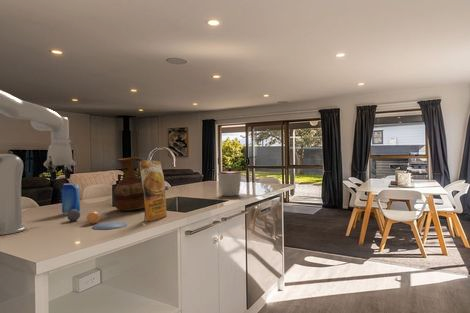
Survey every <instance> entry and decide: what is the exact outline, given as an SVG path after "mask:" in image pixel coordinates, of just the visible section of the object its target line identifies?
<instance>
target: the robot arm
mask: <svg viewBox="0 0 470 313" xmlns="http://www.w3.org/2000/svg"><path fill="white" fill-rule="evenodd" d="M0 114H1V115H4V116H6V117H8V118H13V119H17V120H25V121H30V125H31V127H32V128H33V129H34V130H36V131H41V132H47V131H48V132H49V131H50V144H49V146H48V149H47V150H48V151H47V155H46V156H47V157H46V160H45V161H44V163H43V166H44V167H45V168H46V169H48V171H49V172H50V180H51V181H56V180H57V171H56V169H57V167H58V166H64V169H65V171H64V179H66V180H68V179H71V172H72V169H73V168H74V167H75V165H76V164H77V162H76V161H75V160H74V159H73V153H72V147H71V143H72V141H71V139H70V134H69V133H70V130H69V129H70V122H69V119H68V117H66V116H61V115H60V114H58V113H57V112H56V111H53V110H52V109H50V108H48V107H45V106H43V105H40V104H37V103H33V102H29V101H26V100H22V99H20V98H18V97H16V96H14V95H13V94H10V93H8V92H6V91H4V90H2V89H0ZM23 172H24V162H23V160H22V159H21V157H19V156H18V155H16V154H14V153H13V154H12V153H0V236H2V235H4V236H5V235H12V234H16V233H20V232H24V231H26V230H27V226H26V225H23V224H22V222H23V220H22V176H23Z"/></svg>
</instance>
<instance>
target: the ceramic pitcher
mask: <svg viewBox="0 0 470 313" xmlns="http://www.w3.org/2000/svg"><path fill="white" fill-rule="evenodd" d="M142 160H143V159H142V158H140V157H138V156H133V157H126V158H125V157H124V158H119V159H117V161H118V162H119V163H120V164H121V171H122V173H123V176H122V179H121V180H119V182H118V183H117V184H116V187H115V190H114V193H113V203H114V204H113V205H114V207H115V208H116V209H117V210H119V211H136V210H140V209H143V208H145V205H144V193H143V189H142V184H141V176H139V177H138V176H137V175H136V172H135V163H136V162H137V161H139V163H140V162H141V161H142Z"/></svg>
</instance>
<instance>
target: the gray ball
mask: <svg viewBox="0 0 470 313" xmlns="http://www.w3.org/2000/svg"><path fill="white" fill-rule="evenodd" d="M66 217H67V219H68V220H69V221H71V222H74V221H75V222H77V221H78V220H79V219H80V217H81V211H78V210H77V209H72V210H70V211H69V212H68V213H67V215H66Z"/></svg>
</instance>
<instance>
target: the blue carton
mask: <svg viewBox="0 0 470 313" xmlns="http://www.w3.org/2000/svg"><path fill="white" fill-rule="evenodd" d="M80 188H81V187H80V185H79V184H78V183H77V182H74V183H73V182H72V183H71V182H70V183H69V182H68V183H63V185H62V187H61V213H62V214H63V215H65V216H67V213H68V212H69V211H70V210H72V209H77V210H78V211H79V212H81V191H80V190H81V189H80Z"/></svg>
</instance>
